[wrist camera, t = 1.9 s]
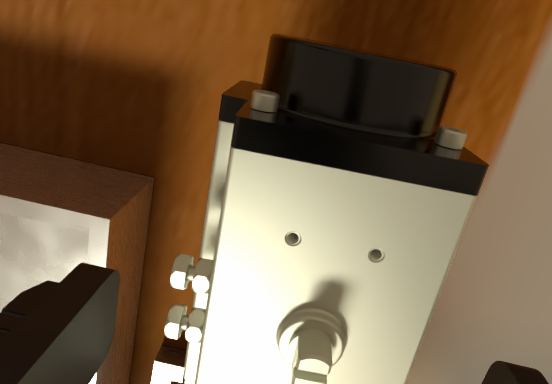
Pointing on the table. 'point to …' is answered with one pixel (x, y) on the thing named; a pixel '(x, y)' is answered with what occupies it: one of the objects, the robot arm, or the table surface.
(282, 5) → the table surface
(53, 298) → the robot arm
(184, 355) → the gray square frame
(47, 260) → the seat cradle
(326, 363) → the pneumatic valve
